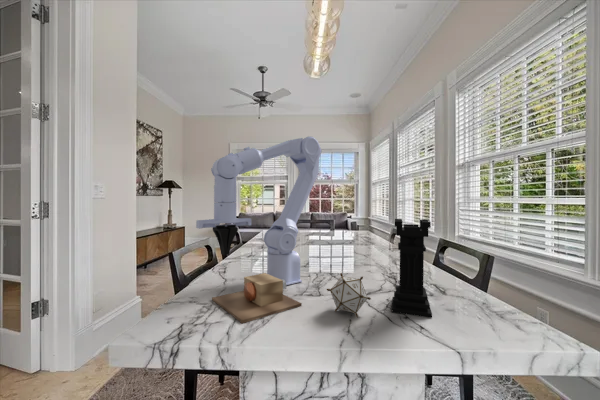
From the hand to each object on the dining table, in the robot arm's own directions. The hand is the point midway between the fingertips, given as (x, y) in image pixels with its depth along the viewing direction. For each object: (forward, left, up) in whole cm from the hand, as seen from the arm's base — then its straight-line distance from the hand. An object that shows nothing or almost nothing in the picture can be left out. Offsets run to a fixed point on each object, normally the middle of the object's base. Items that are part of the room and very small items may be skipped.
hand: (225, 254), depth 74 cm
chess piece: (-29, +36, -10) cm, 47 cm away
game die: (-16, +29, -10) cm, 35 cm away
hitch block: (-2, +12, -10) cm, 16 cm away
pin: (-5, +12, -9) cm, 16 cm away
